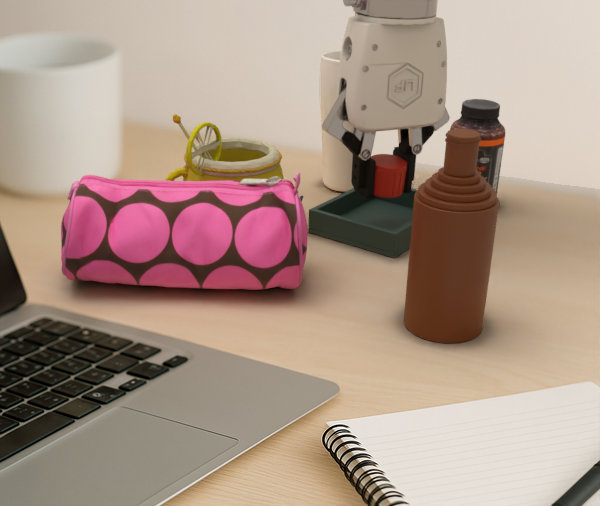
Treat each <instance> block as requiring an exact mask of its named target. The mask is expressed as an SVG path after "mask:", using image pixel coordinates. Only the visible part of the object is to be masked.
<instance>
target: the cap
mask: <svg viewBox="0 0 600 506" xmlns="http://www.w3.org/2000/svg"><path fill="white" fill-rule="evenodd" d="M371 158H372V159H374V160H375V162H376V166H375V180H374V194H373V195H375V196H378V197H383V198H394V197H398V196H400V195H401V194H402V193H403V190H404V184H405V177H406V171H407V162H406V161H405V160H404V159H403V158H401V157H399V156H395V155H393V154H389V153H377V154H374V155H371Z"/></svg>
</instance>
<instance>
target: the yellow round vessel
mask: <svg viewBox="0 0 600 506" xmlns="http://www.w3.org/2000/svg"><path fill="white" fill-rule="evenodd" d="M181 119H182V117H181V116H180V115H177V114H176V113H174V114H173V115H172V121H173V123H175V124H177V125H178V127H179V128H180V130H181V131H182V132H183V134H184V136H185V137H186V139H187V144H186V149H185V153H184V155H183V160H184V162H185V165H184V166H183V167H180V168H177V169H175V170H173V171H171V172H169V174H168V175H167V176H166V178H165V179H164V180H165V181H176V179H178V178H180V177H182V181H225V180H231V181H242V180H243V179H268V180H269V178H271V177H274V176H278V177H279V178H280V179H285V178H284V172H283V169H282V166H281V160H282V158H283V155H282V153H281V152H280V151H279V150H278V148H277V147H276V146H275V145H272V144H271V143H269V142H266V141H264V140H259V139H256V138H255V139H254V138H248V137H222V134H221V131H220V129H219V127H218V126H217V125H216V124H214V123H212V122H208V121H203V122H201V123H199V124H197V126H195V128H194V129H193V130H192V131H191V134H190V135H189V133H188V131H187V130H186V128H185V126H184V125H183V124H182V121H181ZM205 127H206V129H205V135H204V138H202V135H201V134H200V131H201V130H202V129H203V128H205ZM213 132H214V135H215V138H212V139H211V136H212V133H213ZM208 133H209V134H208ZM207 136H208V139H207ZM203 139H204V140H203ZM195 140H196V141H197V143H194V141H195Z"/></svg>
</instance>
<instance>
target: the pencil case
mask: <svg viewBox="0 0 600 506" xmlns="http://www.w3.org/2000/svg"><path fill="white" fill-rule="evenodd" d="M292 179H293V181H294V183H295V184H294V183H293V182H292V181H291V180H289V179H285V178H284V179H280V178H279V177H278V176H274V177H271V178H269V180H268V179H243V180H242V181H231V180H225V181H183V180H174V181H165V179H163V180H162V179H161V180H159V179H121V178H107V177H104V176H99V175H95V174H86V175H83V176H82V177H81V178H80V180H75V181H73V182H72V184H71V186H70V189H69V192H68V196H67V200H68V201H69V203H68V205H67V207H66V209H65V211H64V213H63V216H62V218H61V219H62V220H61V224H60V239H61V241H60V242H61V250H60V257H61V258H60V259H61V260H60V261H61V273H62V275H63V276H65V277H66V279H67V280H69V281H84V282H92V281H93V282H99V283H103V284H120V285H131V286H147V287H148V286H151V287H163V288H180V289H181V288H182V289H183V288H185V289H186V288H187V289H207V290H209V289H211V290H248V291H249V290H250V291H251V290H253V291H257V290H258V291H259V290H260V291H261V290H268V289H271V288H276V287H279V288H281V289H287V290H296V289H298V287H299V286H301V284H302V282H303V281H302V280H303V276H304V275H303V274H304V267H305V263H306V259H307V252H308V220H307V215H306V211H305V207H304V205H303V202H302V201H303V198H304V195H300V196H299V190H298V189H299V187H300V184H301V172H296V173H295V174H294V175H293V177H292Z"/></svg>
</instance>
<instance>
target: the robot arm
mask: <svg viewBox="0 0 600 506" xmlns="http://www.w3.org/2000/svg"><path fill="white" fill-rule="evenodd" d="M342 3H343V5H344V7H352V11H353V12H354V16H353V15H352V16H349V17H348V19H347V24H346V26H345V30H344V35H343V40H342V44H341V48H340V50H341V54H340V60H339V68H338V76H337V86H336V102H335V103H334V105H333V107H332V108H331V110H330V112H329V114H328V115H327V117H326V119H325V120H324V122H323V124H322V129H323V130H324V131H325V132H327V133H328V134H330V135H332V136H333V137H335V138H337V139H338V140H340V141H341V142H342V143H343V144H344V145H345V146H346V147H347V148H348V150H349V151H350V152H351V153H352V154H353V159H352V176H351V182H352V185H353V187H354V190H355V191H356V192H358V193H359V194H361V195H362V196H363V197H365V198H371V197H372V196H373V194H374V180H375V166H376V162H375V160H374V159H372V158H371V156H372V154H373V153H372V152H373V148H374V143H375V140H376V139H375V138H376V135H377V132H385V131H387V132H388V131H396V130H397V138H398V140H397V141H398V146H394V149H393V150H392V155H395V156H399V157H401V158H403V159H404V160H405V161H406V162H407V171H406V177H405V184H404V190H403V192H404V193H410V192H411V188H412V186H413V181H414V180H415V174H416V163H417V155H419V154H421V153H422V151H423V146H424V145H425V144H426V143H427V142H428V141H429V139H430V138H431V137H432V136H433V134H434V132H436V131H438V130H440V128H442V127H443V126H444V125H446V124H447V123H448V122H449V121H450V118H451V117H450V114H449V112H448V109H447V108H446V102H447V101H446V99H447V83H448V82H447V81H448V49H447V37H446V26H445V20H444V18H441V17H437V11H438V3H439V0H342ZM344 121H349V123H350V124H351V125H352V129H351V132H350V131H348V130H346V129H345V128H344V127H343V122H344ZM412 189H413V188H412Z"/></svg>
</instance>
